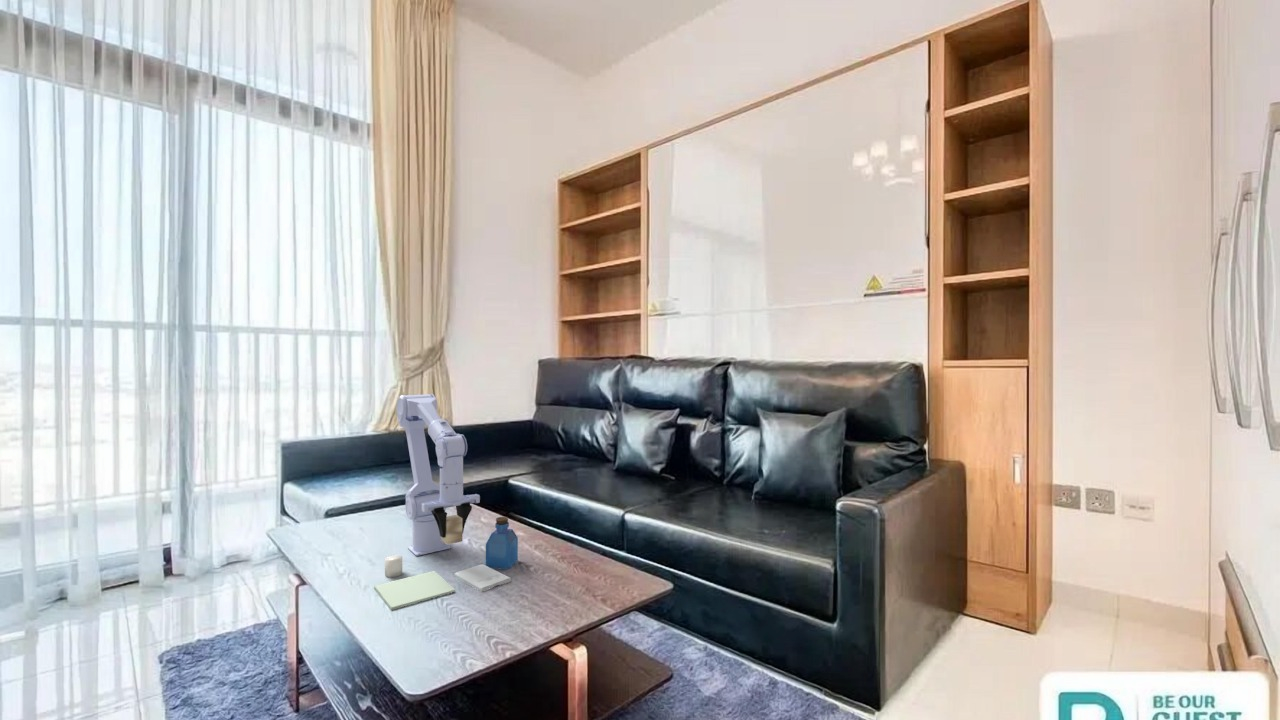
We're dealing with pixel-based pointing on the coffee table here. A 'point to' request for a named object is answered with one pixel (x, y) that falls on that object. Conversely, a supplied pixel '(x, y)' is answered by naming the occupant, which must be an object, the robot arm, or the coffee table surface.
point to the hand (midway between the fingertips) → (451, 534)
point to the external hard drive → (481, 577)
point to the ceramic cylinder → (393, 566)
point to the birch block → (453, 530)
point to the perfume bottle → (502, 546)
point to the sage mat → (413, 589)
